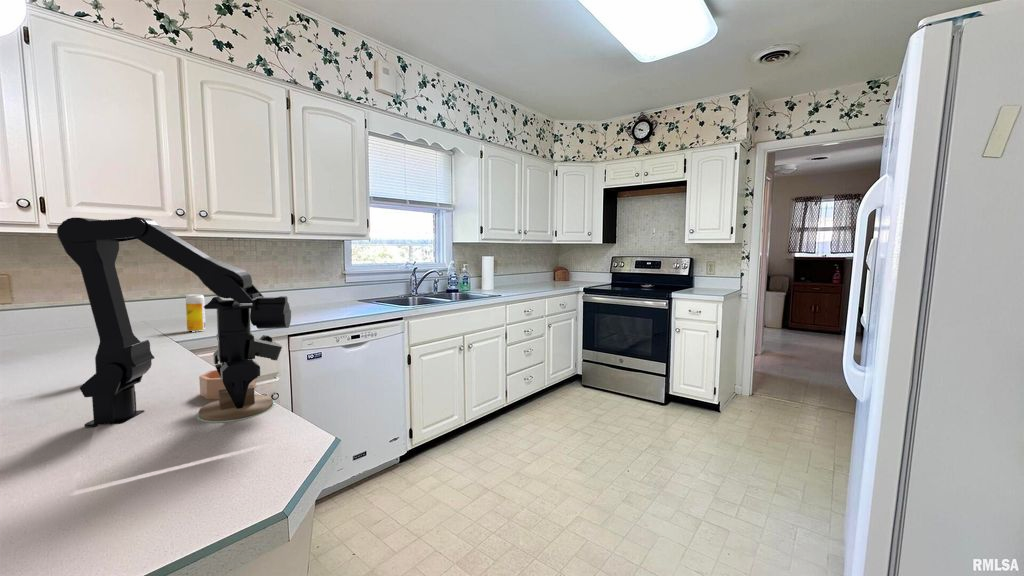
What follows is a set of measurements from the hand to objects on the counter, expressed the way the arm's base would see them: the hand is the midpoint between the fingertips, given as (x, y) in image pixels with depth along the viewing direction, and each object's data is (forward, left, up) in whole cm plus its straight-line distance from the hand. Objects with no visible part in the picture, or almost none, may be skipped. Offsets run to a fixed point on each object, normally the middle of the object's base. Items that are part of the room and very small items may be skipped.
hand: (237, 402), depth 88 cm
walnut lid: (0, 0, -1) cm, 1 cm away
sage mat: (0, 0, -2) cm, 2 cm away
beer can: (+95, +56, -2) cm, 110 cm away
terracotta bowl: (+12, +7, -2) cm, 14 cm away
